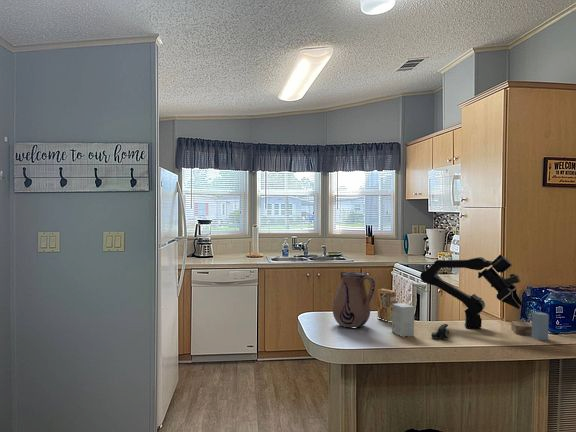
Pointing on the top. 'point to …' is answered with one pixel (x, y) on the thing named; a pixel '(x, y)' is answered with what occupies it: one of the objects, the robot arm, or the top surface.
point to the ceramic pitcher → (352, 300)
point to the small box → (403, 319)
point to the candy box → (386, 303)
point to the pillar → (540, 325)
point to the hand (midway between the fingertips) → (520, 306)
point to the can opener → (441, 332)
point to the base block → (521, 327)
